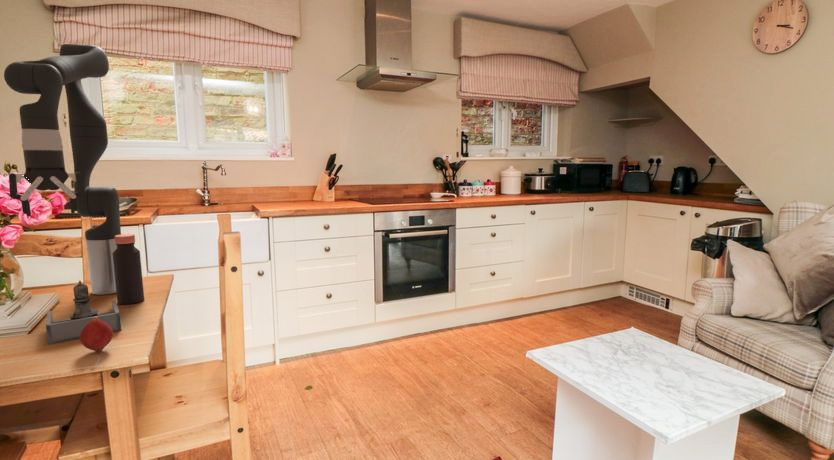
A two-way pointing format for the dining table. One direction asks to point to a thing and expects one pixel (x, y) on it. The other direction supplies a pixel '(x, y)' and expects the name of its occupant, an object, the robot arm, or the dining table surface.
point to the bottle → (127, 270)
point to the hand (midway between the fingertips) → (51, 214)
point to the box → (78, 325)
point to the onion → (96, 335)
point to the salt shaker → (82, 303)
